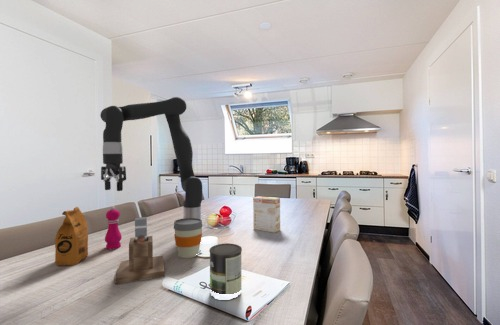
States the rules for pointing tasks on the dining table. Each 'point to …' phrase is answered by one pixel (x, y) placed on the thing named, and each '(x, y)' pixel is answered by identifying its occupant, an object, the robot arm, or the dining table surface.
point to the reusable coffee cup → (188, 236)
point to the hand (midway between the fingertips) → (113, 190)
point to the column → (141, 228)
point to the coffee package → (71, 239)
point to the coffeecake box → (266, 213)
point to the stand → (140, 262)
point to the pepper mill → (113, 229)
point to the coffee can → (225, 268)
